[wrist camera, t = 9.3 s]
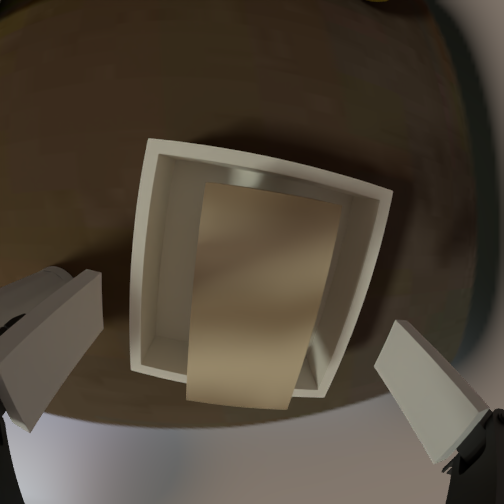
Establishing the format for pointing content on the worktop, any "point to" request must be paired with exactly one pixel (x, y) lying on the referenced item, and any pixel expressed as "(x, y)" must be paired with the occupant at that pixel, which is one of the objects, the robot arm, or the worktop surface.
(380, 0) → the lemon
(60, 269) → the cup
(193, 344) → the beige rectangular block
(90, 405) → the worktop surface
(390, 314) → the worktop surface
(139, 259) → the white open box
